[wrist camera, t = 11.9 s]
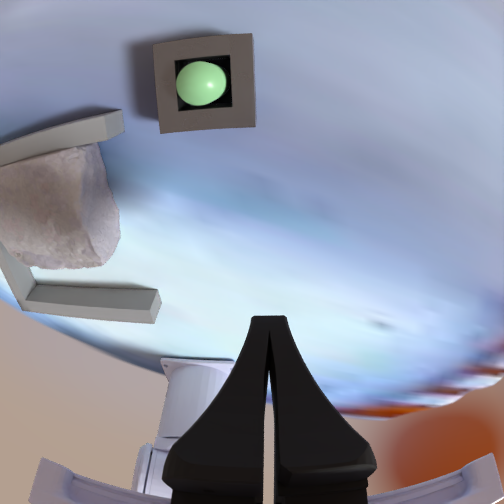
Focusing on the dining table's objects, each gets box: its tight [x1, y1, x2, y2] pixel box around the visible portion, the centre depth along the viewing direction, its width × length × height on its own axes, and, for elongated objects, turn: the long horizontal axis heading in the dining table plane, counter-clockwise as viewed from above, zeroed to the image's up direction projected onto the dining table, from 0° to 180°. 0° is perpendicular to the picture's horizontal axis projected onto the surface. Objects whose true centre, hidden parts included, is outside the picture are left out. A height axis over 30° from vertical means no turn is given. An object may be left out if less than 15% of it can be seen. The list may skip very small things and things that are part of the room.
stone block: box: [0, 142, 120, 269], centre depth 19 cm, size 12×5×10 cm
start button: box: [176, 61, 231, 106], centre depth 14 cm, size 2×2×4 cm
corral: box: [0, 110, 162, 324], centre depth 20 cm, size 16×16×2 cm
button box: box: [153, 33, 256, 134], centre depth 15 cm, size 5×5×3 cm
